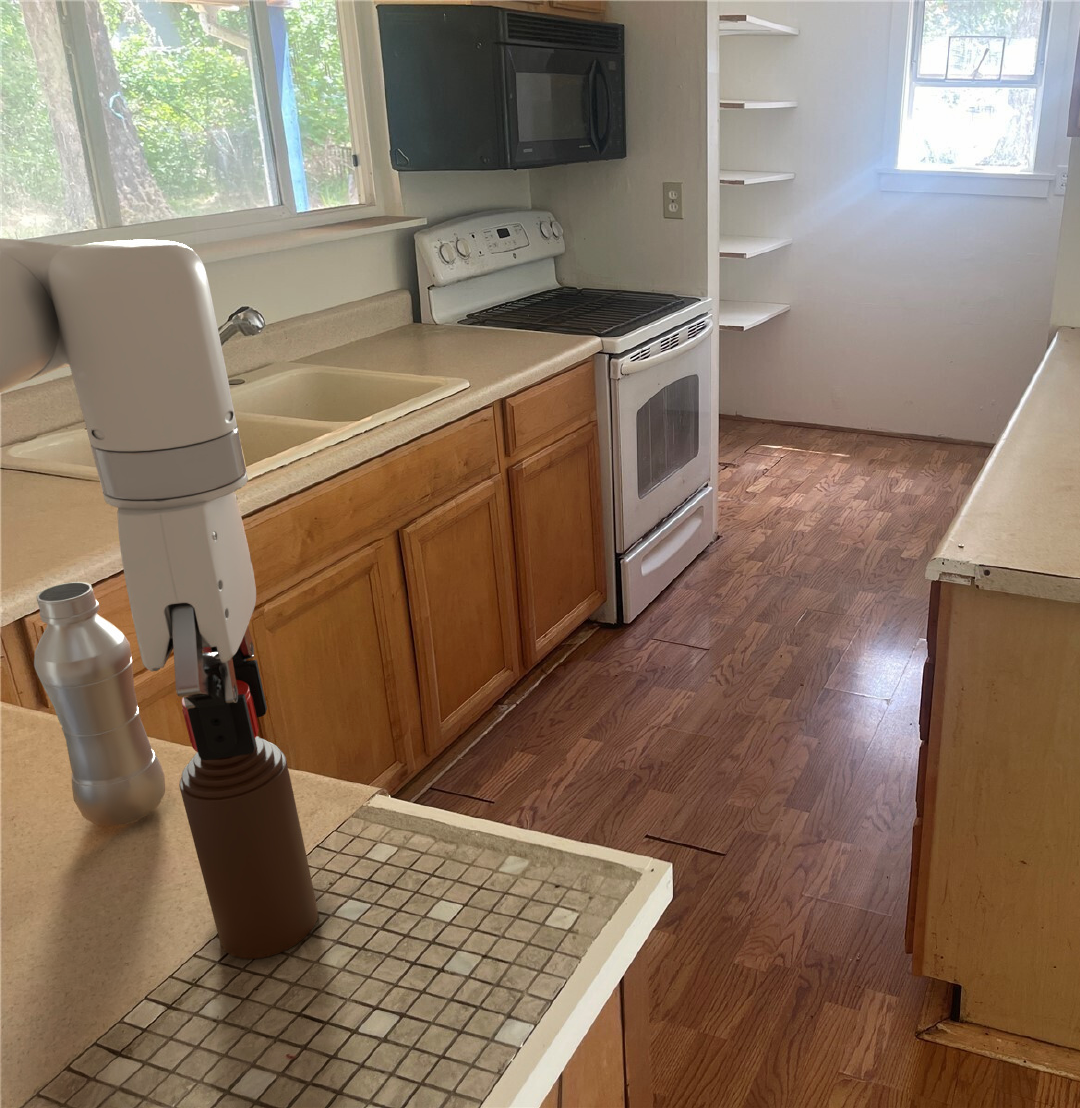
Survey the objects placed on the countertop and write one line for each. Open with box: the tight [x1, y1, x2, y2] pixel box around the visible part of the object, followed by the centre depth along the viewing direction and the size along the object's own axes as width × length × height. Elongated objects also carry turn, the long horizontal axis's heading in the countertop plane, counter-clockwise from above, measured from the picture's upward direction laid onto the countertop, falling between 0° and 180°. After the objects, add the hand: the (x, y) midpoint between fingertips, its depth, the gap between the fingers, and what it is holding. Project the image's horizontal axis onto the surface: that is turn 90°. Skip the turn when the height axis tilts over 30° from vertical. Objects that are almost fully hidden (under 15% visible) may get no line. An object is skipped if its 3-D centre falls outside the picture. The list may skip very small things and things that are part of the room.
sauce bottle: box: [178, 736, 319, 960], centre depth 69 cm, size 6×6×18 cm
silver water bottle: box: [33, 581, 166, 827], centre depth 81 cm, size 6×7×20 cm
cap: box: [181, 680, 260, 753], centre depth 66 cm, size 4×4×3 cm
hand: (234, 733), depth 67 cm, fingers closed on cap, 3 cm apart
